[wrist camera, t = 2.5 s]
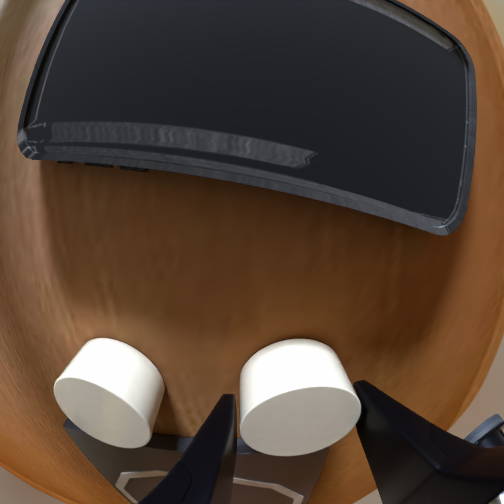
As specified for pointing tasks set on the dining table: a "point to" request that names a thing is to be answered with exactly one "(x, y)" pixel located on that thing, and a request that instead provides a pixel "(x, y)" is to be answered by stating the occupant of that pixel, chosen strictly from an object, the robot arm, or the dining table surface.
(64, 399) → the cream round box
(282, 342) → the white round puck
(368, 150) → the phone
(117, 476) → the slate
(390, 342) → the dining table surface
